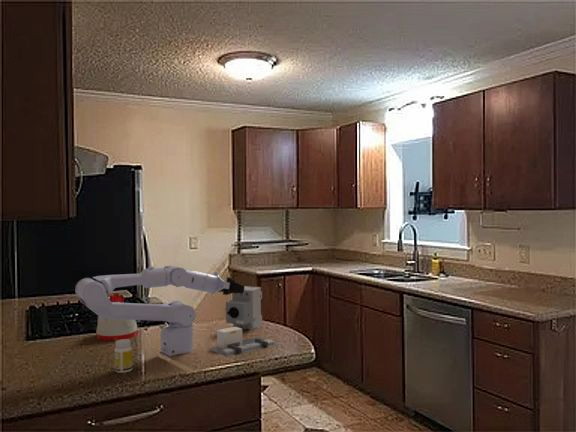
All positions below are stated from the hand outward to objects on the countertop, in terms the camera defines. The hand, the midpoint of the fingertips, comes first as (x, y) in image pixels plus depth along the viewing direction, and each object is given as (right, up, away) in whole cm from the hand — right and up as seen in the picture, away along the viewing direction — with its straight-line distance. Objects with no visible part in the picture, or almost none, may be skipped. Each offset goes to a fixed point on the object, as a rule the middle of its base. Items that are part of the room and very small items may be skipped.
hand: (237, 289), depth 173 cm
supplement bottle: (-29, -19, -26) cm, 44 cm away
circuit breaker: (+1, -18, +16) cm, 24 cm away
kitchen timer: (-44, -18, +12) cm, 49 cm away
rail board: (+3, -18, -7) cm, 20 cm away
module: (-2, -17, -6) cm, 18 cm away
